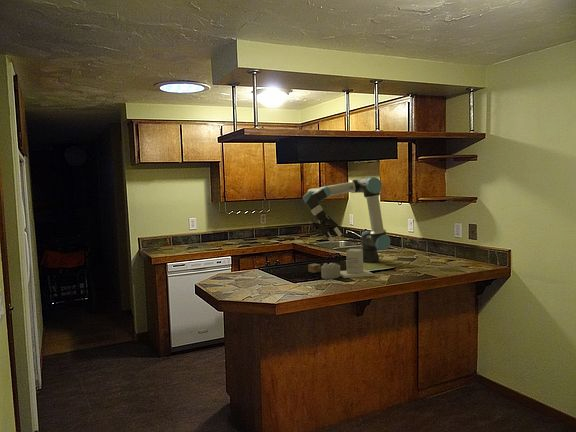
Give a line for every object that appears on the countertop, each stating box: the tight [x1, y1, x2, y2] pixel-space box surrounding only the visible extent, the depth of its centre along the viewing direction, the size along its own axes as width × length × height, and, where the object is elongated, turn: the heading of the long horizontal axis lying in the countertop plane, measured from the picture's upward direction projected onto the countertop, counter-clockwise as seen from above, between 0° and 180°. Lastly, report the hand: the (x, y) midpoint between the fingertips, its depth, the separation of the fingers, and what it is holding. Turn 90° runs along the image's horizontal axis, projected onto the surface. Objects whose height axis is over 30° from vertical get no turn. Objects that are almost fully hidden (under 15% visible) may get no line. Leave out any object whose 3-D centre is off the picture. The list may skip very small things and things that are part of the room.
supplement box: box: [345, 248, 364, 274], centre depth 297 cm, size 9×9×15 cm
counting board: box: [340, 268, 374, 279], centre depth 297 cm, size 20×15×2 cm
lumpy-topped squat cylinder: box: [320, 262, 341, 280], centre depth 292 cm, size 10×13×9 cm
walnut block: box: [307, 263, 322, 274], centre depth 311 cm, size 6×6×5 cm
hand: (336, 238), depth 305 cm, fingers open, 13 cm apart
